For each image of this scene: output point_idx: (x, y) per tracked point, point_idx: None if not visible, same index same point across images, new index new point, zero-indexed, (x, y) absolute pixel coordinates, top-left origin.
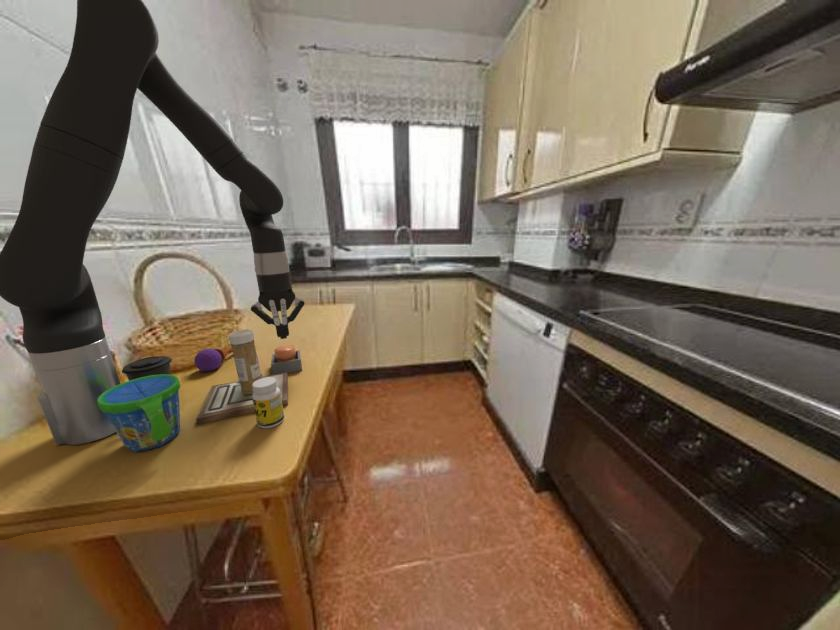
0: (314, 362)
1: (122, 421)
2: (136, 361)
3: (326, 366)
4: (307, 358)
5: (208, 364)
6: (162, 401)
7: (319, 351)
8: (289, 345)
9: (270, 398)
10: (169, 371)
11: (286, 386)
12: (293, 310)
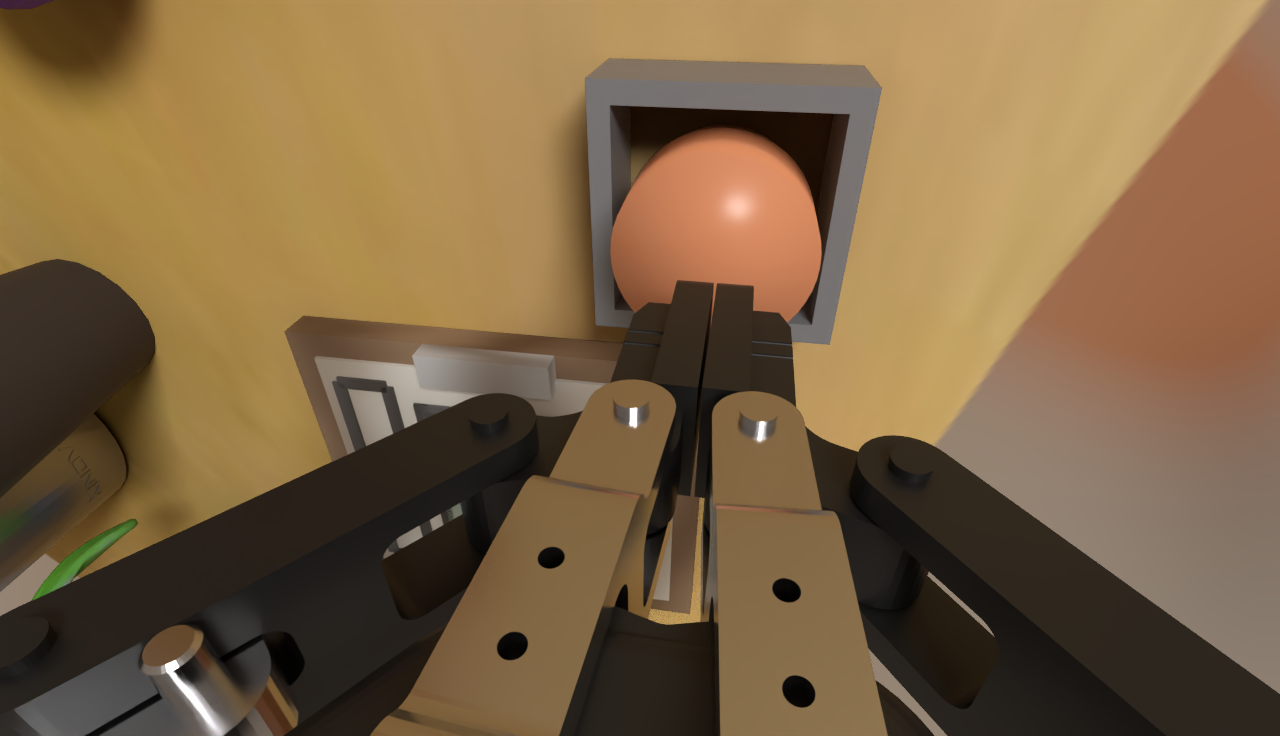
0: (960, 189)
1: None
2: None
3: (1012, 320)
4: (937, 43)
5: (40, 4)
6: None
7: None
8: (773, 174)
9: None
10: (9, 430)
11: (693, 522)
12: (995, 636)
